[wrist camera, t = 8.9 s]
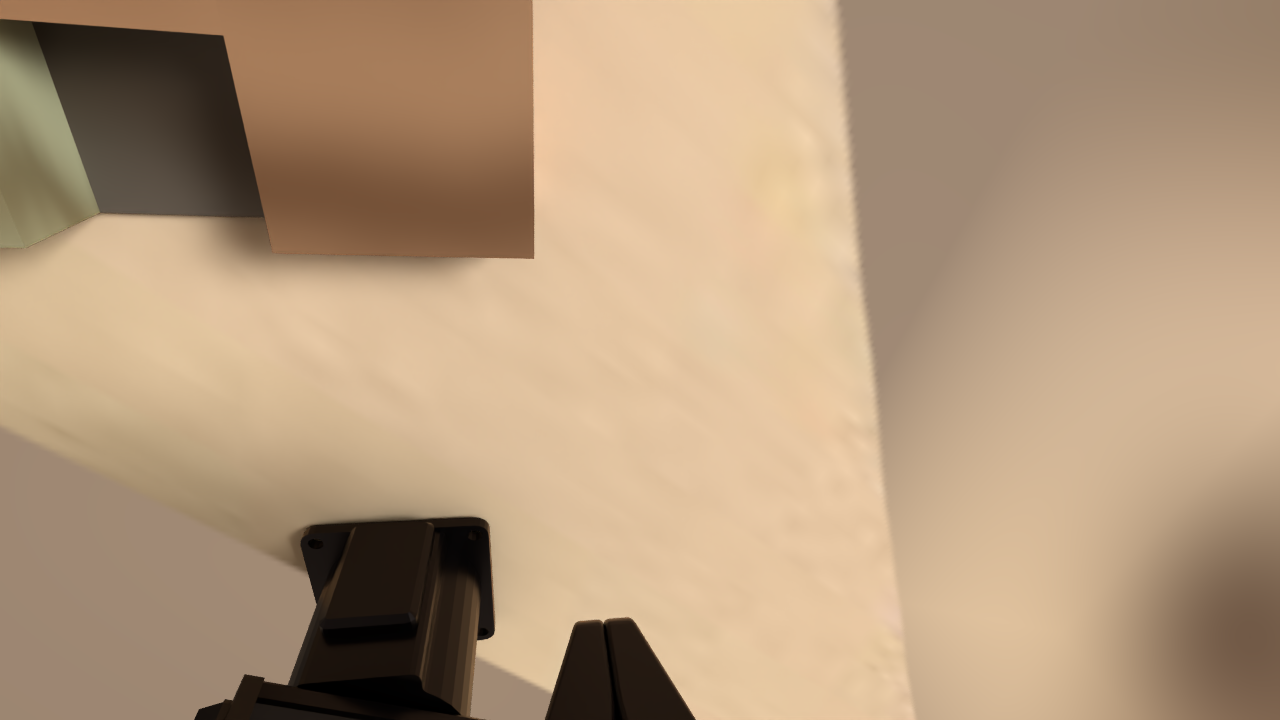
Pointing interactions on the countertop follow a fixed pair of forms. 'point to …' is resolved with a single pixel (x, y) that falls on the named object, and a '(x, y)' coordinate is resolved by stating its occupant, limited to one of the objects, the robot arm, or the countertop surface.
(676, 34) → the countertop surface
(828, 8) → the countertop surface
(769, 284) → the countertop surface
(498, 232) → the trap board
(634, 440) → the countertop surface
